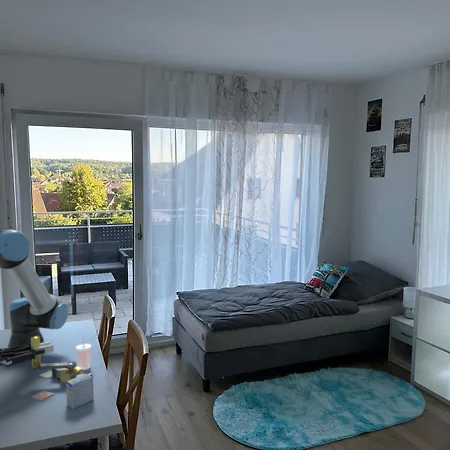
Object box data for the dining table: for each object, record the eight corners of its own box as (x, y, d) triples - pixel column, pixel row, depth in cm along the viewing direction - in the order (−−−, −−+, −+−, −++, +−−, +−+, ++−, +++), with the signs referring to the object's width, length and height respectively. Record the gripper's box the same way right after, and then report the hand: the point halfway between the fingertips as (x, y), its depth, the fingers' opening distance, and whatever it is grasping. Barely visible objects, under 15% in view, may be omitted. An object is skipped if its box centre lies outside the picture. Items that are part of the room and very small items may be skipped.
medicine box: (86, 396, 149) (86, 372, 148) (94, 400, 147) (93, 376, 146) (66, 405, 143) (65, 381, 142) (73, 409, 140) (72, 385, 140)
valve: (50, 378, 162) (49, 364, 162) (62, 373, 167) (62, 359, 166) (81, 391, 153) (80, 375, 152) (93, 384, 158) (93, 370, 157)
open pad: (39, 375, 165) (39, 374, 165) (50, 371, 169) (50, 370, 169) (47, 379, 162) (47, 378, 162) (58, 374, 166) (58, 373, 166)
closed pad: (31, 397, 148) (31, 396, 148) (44, 391, 153) (44, 390, 153) (40, 401, 146) (40, 400, 146) (53, 394, 150) (53, 393, 150)
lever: (77, 363, 161) (76, 333, 160) (75, 368, 157) (73, 337, 156) (34, 366, 159) (32, 335, 158) (30, 371, 156) (29, 339, 154)
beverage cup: (81, 372, 168) (80, 338, 167) (73, 367, 172) (72, 334, 171) (95, 366, 173) (93, 334, 171) (87, 362, 177) (85, 330, 175)
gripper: (-21, 364, 153) (46, 349, 167) (-14, 381, 140) (58, 362, 154) (-23, 345, 152) (45, 331, 166) (-16, 359, 139) (57, 343, 154)
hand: (51, 346), depth 160 cm, fingers closed on lever, 3 cm apart
